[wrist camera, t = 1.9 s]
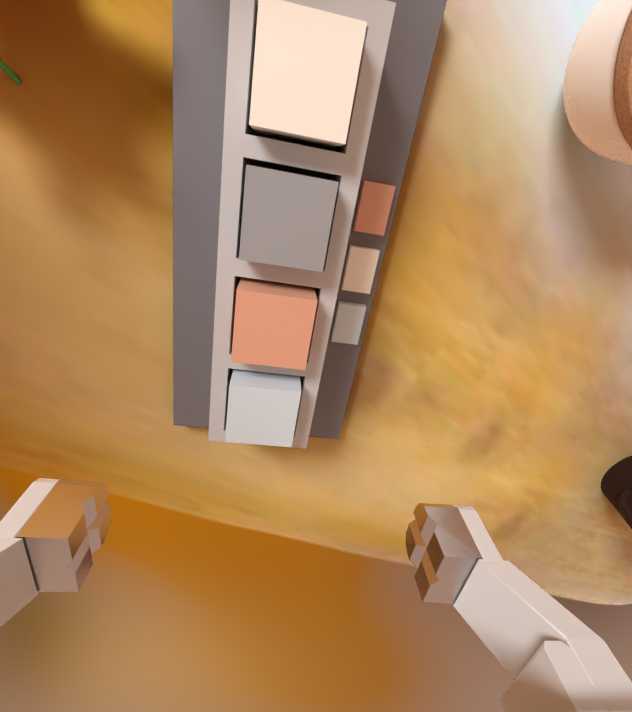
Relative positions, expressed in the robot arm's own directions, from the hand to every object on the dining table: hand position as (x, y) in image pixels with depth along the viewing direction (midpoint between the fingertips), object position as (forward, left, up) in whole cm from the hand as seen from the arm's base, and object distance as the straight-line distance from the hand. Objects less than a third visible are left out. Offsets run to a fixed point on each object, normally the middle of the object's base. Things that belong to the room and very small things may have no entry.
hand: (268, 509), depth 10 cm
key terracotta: (0, 0, -16) cm, 16 cm away
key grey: (0, +6, -16) cm, 17 cm away
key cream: (0, +12, -16) cm, 20 cm away
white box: (0, -6, -16) cm, 18 cm away
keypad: (0, +3, -20) cm, 20 cm away
